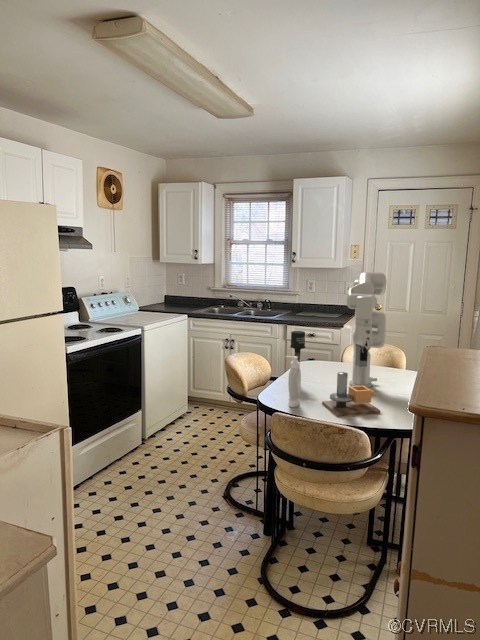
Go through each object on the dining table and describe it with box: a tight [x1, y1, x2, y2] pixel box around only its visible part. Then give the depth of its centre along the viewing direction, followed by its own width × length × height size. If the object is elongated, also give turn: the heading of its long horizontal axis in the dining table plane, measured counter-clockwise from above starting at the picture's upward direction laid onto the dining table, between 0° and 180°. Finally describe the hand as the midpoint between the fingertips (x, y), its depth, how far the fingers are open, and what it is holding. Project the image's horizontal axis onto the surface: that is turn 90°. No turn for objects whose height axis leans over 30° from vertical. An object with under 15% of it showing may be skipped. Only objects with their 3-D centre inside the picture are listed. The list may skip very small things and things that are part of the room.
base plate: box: [321, 400, 381, 418], centre depth 231 cm, size 22×18×2 cm
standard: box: [329, 371, 353, 408], centre depth 228 cm, size 11×11×16 cm
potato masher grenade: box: [289, 330, 306, 364], centre depth 270 cm, size 8×9×30 cm
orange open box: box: [347, 385, 376, 403], centre depth 231 cm, size 12×8×6 cm
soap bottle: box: [285, 355, 302, 408], centre depth 234 cm, size 13×8×24 cm, turn 159°
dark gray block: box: [355, 345, 367, 367], centre depth 228 cm, size 4×4×10 cm
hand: (361, 359), depth 228 cm, fingers closed on dark gray block, 4 cm apart
